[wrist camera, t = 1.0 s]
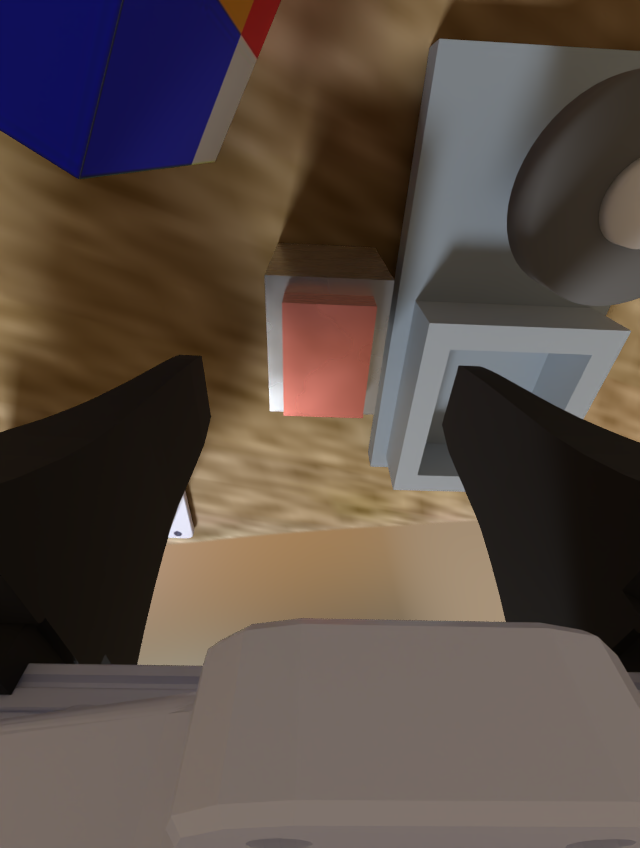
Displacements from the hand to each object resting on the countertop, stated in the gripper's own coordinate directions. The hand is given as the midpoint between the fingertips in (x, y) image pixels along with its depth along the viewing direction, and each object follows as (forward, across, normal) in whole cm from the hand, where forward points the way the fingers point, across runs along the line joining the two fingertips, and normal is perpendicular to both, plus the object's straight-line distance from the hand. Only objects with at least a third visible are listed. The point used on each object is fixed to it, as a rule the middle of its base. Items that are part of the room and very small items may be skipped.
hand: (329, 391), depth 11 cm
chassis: (+8, -7, 0) cm, 11 cm away
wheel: (+3, -7, -5) cm, 9 cm away
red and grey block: (+8, 0, 0) cm, 8 cm away
